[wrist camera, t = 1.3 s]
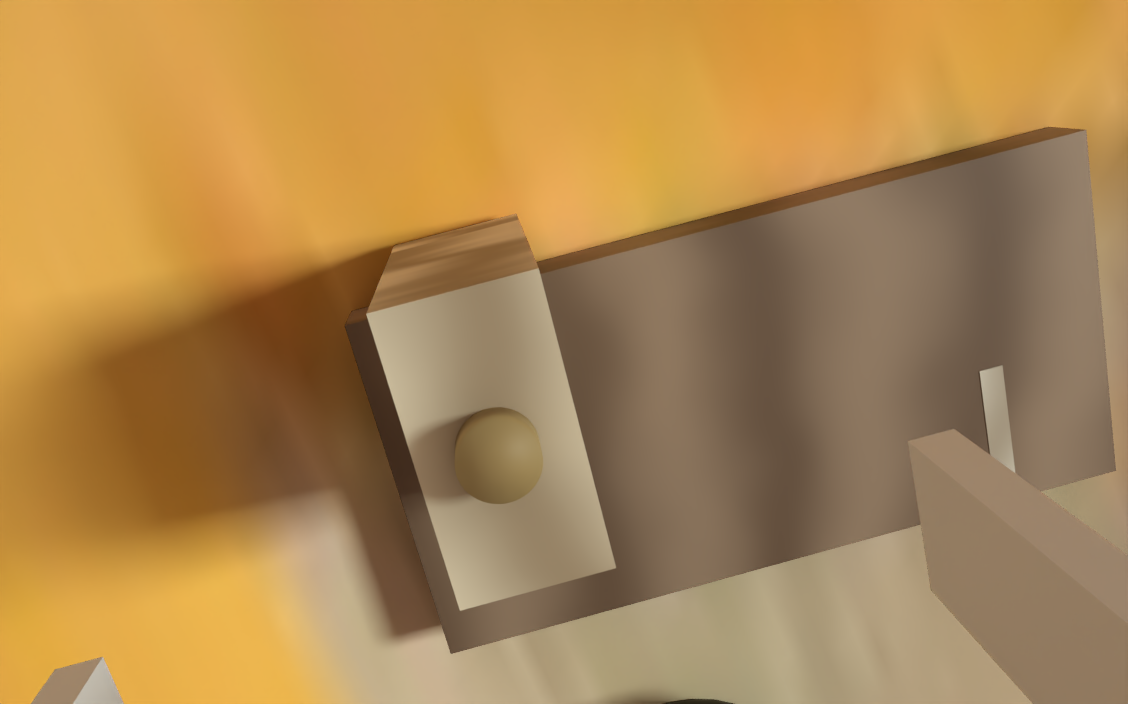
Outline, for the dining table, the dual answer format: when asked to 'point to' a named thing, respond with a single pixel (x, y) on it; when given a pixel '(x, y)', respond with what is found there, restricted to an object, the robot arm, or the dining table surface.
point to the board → (807, 369)
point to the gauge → (488, 412)
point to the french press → (699, 702)
